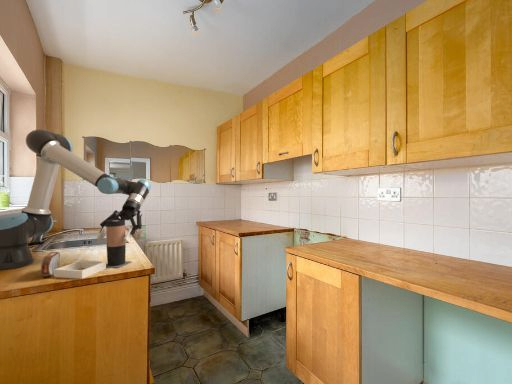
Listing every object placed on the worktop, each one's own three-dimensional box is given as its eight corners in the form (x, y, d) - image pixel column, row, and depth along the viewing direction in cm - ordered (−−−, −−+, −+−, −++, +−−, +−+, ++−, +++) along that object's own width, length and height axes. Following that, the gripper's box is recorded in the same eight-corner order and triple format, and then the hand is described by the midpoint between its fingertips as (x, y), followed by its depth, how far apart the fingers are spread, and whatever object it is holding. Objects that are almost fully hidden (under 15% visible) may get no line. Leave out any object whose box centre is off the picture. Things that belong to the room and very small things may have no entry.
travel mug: (111, 267, 112) (110, 221, 112) (103, 264, 117) (103, 220, 117) (129, 263, 118) (128, 219, 118) (121, 260, 123) (120, 218, 123)
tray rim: (54, 277, 102) (53, 269, 101) (80, 267, 114) (80, 260, 114) (82, 278, 100) (82, 270, 100) (106, 268, 112) (105, 261, 112)
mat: (100, 267, 114) (100, 266, 114) (114, 261, 123) (114, 260, 123) (118, 268, 112) (118, 267, 112) (131, 262, 121) (131, 261, 121)
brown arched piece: (52, 269, 112) (52, 249, 112) (61, 268, 113) (61, 249, 113) (40, 280, 98) (39, 258, 98) (50, 279, 100) (49, 257, 100)
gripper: (158, 209, 130) (141, 245, 116) (114, 209, 134) (92, 244, 120) (152, 199, 125) (134, 235, 111) (106, 199, 129) (82, 234, 114)
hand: (112, 240), depth 115 cm, fingers open, 13 cm apart
